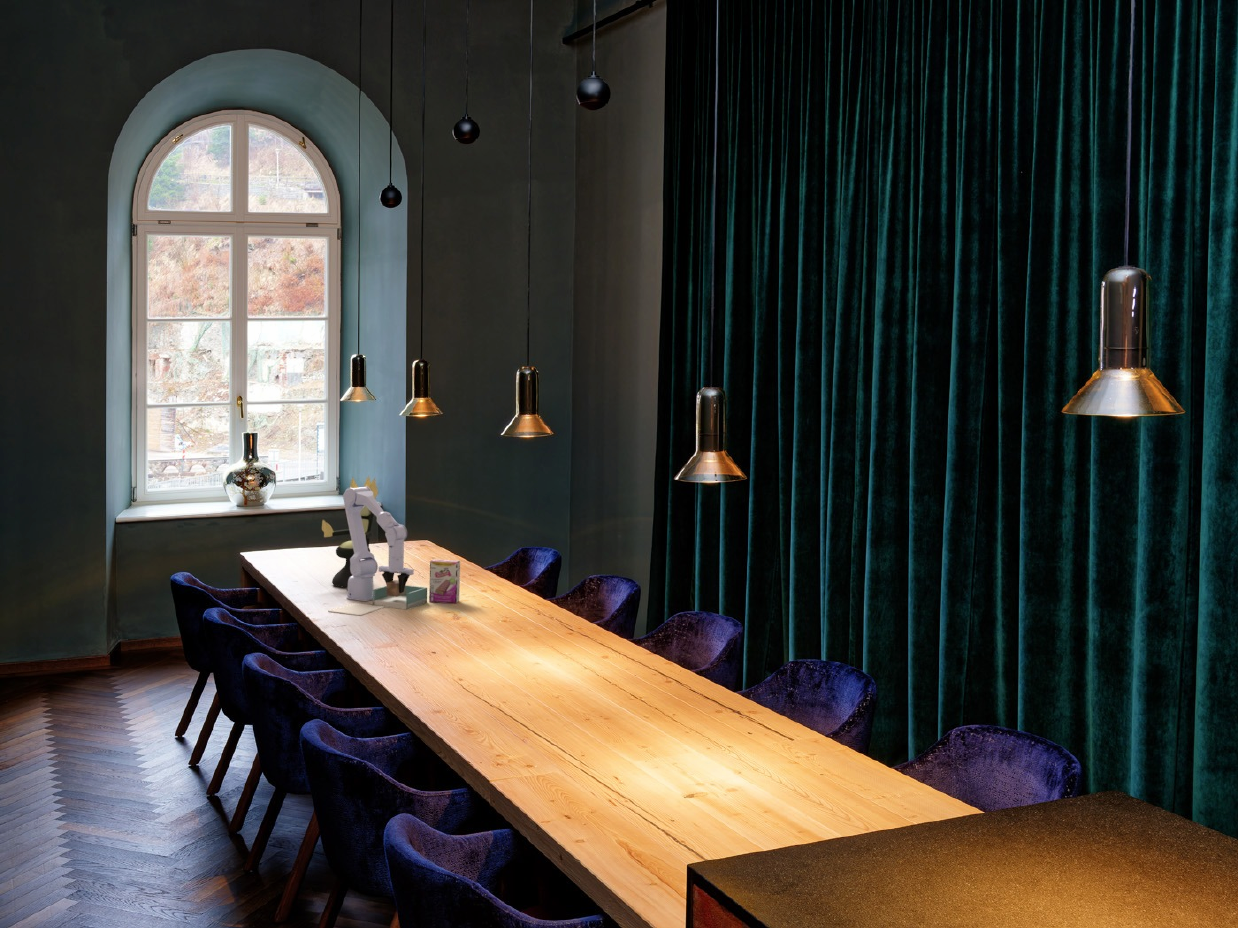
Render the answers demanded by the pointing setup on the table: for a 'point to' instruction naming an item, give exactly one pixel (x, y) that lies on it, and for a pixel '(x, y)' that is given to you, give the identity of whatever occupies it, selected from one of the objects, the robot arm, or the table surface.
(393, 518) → the robot arm
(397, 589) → the walnut block
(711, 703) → the table surface
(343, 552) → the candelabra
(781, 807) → the table surface
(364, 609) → the mat
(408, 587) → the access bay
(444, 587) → the candy bar box
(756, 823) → the table surface
